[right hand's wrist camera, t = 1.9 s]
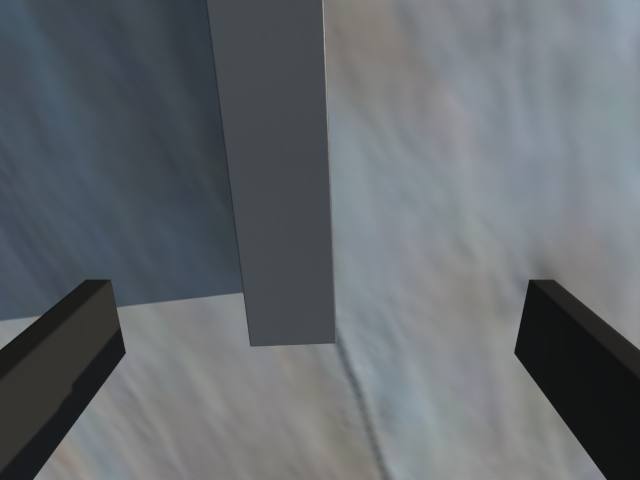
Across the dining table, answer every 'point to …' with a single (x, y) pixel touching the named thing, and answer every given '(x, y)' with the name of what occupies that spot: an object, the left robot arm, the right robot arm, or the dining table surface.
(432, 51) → the dining table surface
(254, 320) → the beam
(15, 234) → the dining table surface
